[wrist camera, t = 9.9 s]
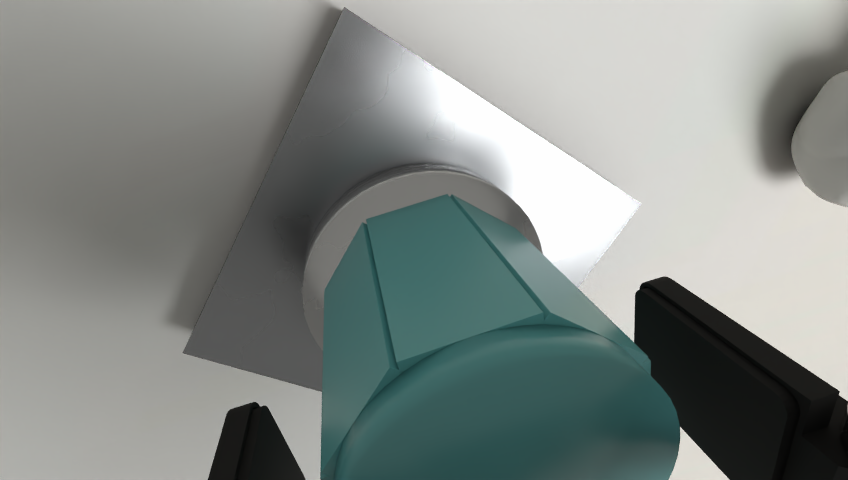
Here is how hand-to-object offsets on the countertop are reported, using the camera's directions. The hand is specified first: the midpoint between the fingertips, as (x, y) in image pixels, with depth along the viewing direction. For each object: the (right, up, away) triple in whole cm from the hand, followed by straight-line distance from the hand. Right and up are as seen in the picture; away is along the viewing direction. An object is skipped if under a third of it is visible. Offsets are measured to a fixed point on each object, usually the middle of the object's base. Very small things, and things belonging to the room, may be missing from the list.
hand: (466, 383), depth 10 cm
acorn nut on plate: (-1, +3, +5) cm, 6 cm away
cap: (-1, +2, +3) cm, 4 cm away
